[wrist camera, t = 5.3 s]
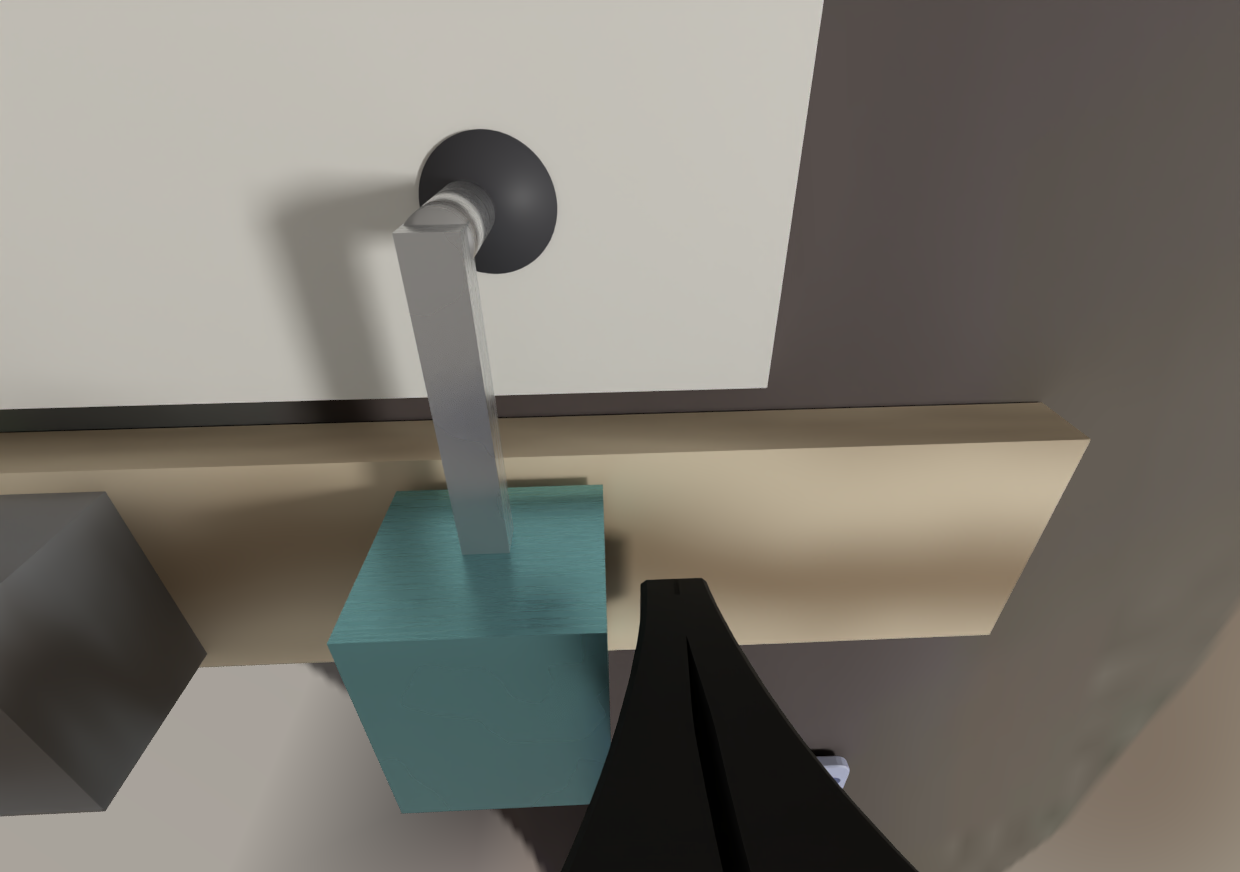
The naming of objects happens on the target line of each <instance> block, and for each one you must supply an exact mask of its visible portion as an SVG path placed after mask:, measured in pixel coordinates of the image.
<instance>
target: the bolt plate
mask: <svg viewBox="0 0 1240 872" xmlns="http://www.w3.org/2000/svg"><path fill="white" fill-rule="evenodd" d="M823 1H824V0H0V409H29V408H65V407H100V406H136V405H172V404H207V403H243V402H279V401H314V400H350V399H385V398H421V397H428V396H427V391H426V386H425V382H424V377H423V373H422V368H421V363H420V359H419V354H418V350H417V345H416V340H415V336H414V331H413V327H412V322H411V317H410V313H409V308H408V304H407V299H406V294H405V290H404V285H403V281H402V276H401V271H400V267H399V262H398V258H397V253H396V248H395V244H394V239H393V235H392V233H393V232H394V231H395V230H396V229H398V228H399V227H400V226H401V225H402V224H403V223H405V222H406V220H407V219H408V218H409V216H411V215H412V214H413V213H414V212H415V211H416V210H418V209H419V208H420V207H421V206H422V205H424V204H425V203H426V202H427V201H428V200H430V199H431V198H432V197H433V196H434V195H435V194H437V193H438V192H439V191H440V190H441V189H443V188H444V187H445V186H446V185H447V184H449V183H451V182H453V181H457V180H467V181H471V182H474V183H476V184H478V185H479V186H481V187H482V188H483V189H484V190H485V191H486V192H487V193H488V194H489V196H490V197H491V199H492V201H493V204H494V207H495V221H494V224H493V227H492V229H491V230H490V232H489V234H488V235H487V237H486V239H485V240H484V242H483V244H482V245H481V247H480V249H479V250H478V252H477V254H476V255H475V257H474V258H475V265H476V272H477V279H478V286H479V292H480V299H481V306H482V313H483V320H484V327H485V334H486V341H487V348H488V354H489V361H490V368H491V375H492V382H493V389H494V395H528V394H564V393H599V392H635V391H671V390H706V389H742V388H767V384H768V377H769V370H770V364H771V357H772V350H773V343H774V336H775V329H776V323H777V316H778V309H779V302H780V295H781V288H782V282H783V275H784V268H785V261H786V254H787V247H788V241H789V234H790V227H791V220H792V213H793V206H794V200H795V193H796V186H797V179H798V172H799V165H800V159H801V152H802V145H803V138H804V131H805V124H806V118H807V111H808V104H809V97H810V90H811V83H812V77H813V70H814V63H815V56H816V49H817V42H818V36H819V29H820V22H821V15H822V8H823Z"/></svg>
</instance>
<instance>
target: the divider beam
mask: <svg viewBox="0 0 1240 872" xmlns="http://www.w3.org/2000/svg"><path fill="white" fill-rule="evenodd" d="M498 423H499V430H500V437H501V444H502V451H503V458H504V465H505V471H506V478H507V485H508V488H510V487H540V486H571V485H601V484H603V503H604V535H605V566H606V598H607V629H608V650H630V649H636V645H637V639H638V632H639V625H640V584H641V583H643V582H644V581H645V580H655V579H682V578H703V579H704V580H705V581H706V582H707V584H708V586H709V589H710V591H711V593H712V595H713V597H714V600H715V602H716V604H717V606H718V608H719V610H720V612H721V614H722V615H723V617H724V619H725V621H726V623H727V625H728V627H729V628H730V630H731V632H732V634H733V636H734V637H735V639H736V641H737V642H738V644H739V645H750V644H774V643H799V642H823V641H847V640H871V639H895V638H919V637H943V636H967V635H989V634H990V632H991V630H992V629H993V627H994V625H995V623H996V621H997V619H998V617H999V615H1000V613H1001V611H1002V609H1003V607H1004V605H1005V604H1006V602H1007V600H1008V598H1009V596H1010V594H1011V592H1012V590H1013V588H1014V586H1015V584H1016V582H1017V580H1018V579H1019V577H1020V575H1021V573H1022V571H1023V569H1024V567H1025V565H1026V563H1027V561H1028V559H1029V557H1030V555H1031V554H1032V552H1033V550H1034V548H1035V546H1036V544H1037V542H1038V540H1039V538H1040V536H1041V534H1042V532H1043V530H1044V529H1045V527H1046V525H1047V523H1048V521H1049V519H1050V517H1051V515H1052V513H1053V511H1054V509H1055V507H1056V505H1057V504H1058V502H1059V500H1060V498H1061V496H1062V494H1063V492H1064V490H1065V488H1066V486H1067V484H1068V482H1069V480H1070V479H1071V477H1072V475H1073V473H1074V471H1075V469H1076V467H1077V465H1078V463H1079V461H1080V459H1081V457H1082V455H1083V454H1084V452H1085V450H1086V448H1087V446H1088V444H1089V442H1090V440H1091V439H1090V438H1088V437H1087V436H1086V435H1084V434H1083V433H1082V432H1080V431H1079V430H1078V429H1076V428H1075V427H1074V426H1072V425H1071V424H1070V423H1068V422H1067V421H1066V420H1064V419H1063V418H1062V417H1060V416H1059V415H1058V414H1056V413H1055V412H1054V411H1052V410H1051V409H1050V408H1048V407H1047V406H1046V405H1044V404H1043V403H1042V402H1041V403H1006V404H972V405H938V406H904V407H870V408H835V409H801V410H767V411H733V412H699V413H665V414H630V415H596V416H562V417H528V418H498ZM419 490H448V488H447V483H446V479H445V474H444V469H443V465H442V460H441V456H440V451H439V446H438V442H437V437H436V433H435V428H434V423H433V420H425V421H391V422H357V423H323V424H288V425H254V426H220V427H186V428H152V429H117V430H83V431H49V432H15V433H0V816H16V815H37V814H58V813H80V812H100V811H106V809H107V807H108V806H109V804H110V803H111V801H112V800H113V798H114V797H115V795H116V794H117V792H118V791H119V789H120V788H121V786H122V785H123V783H124V781H125V780H126V778H127V777H128V775H129V774H130V772H131V771H132V769H133V768H134V766H135V764H136V763H137V761H138V760H139V758H140V757H141V755H142V754H143V752H144V751H145V749H146V748H147V746H148V744H149V743H150V741H151V740H152V738H153V737H154V735H155V734H156V732H157V731H158V729H159V728H160V726H161V725H162V723H163V721H164V720H165V718H166V717H167V715H168V714H169V712H170V711H171V709H172V708H173V706H174V705H175V703H176V701H177V700H178V698H179V697H180V695H181V694H182V692H183V691H184V689H185V688H186V686H187V685H188V683H189V681H190V680H191V678H192V677H193V675H194V674H195V672H196V671H197V669H198V668H199V667H219V666H245V665H269V664H292V663H317V662H334V659H333V657H332V655H331V653H330V650H329V648H328V646H327V642H328V640H329V638H330V636H331V633H332V631H333V629H334V627H335V625H336V623H337V620H338V618H339V616H340V614H341V612H342V609H343V607H344V605H345V603H346V601H347V598H348V596H349V594H350V592H351V590H352V587H353V585H354V583H355V581H356V579H357V576H358V574H359V572H360V570H361V568H362V565H363V563H364V561H365V559H366V557H367V554H368V552H369V550H370V548H371V546H372V544H373V541H374V539H375V537H376V535H377V533H378V530H379V528H380V526H381V524H382V522H383V519H384V517H385V515H386V513H387V511H388V508H389V506H390V504H391V502H392V500H393V497H394V495H395V493H396V491H419Z"/></svg>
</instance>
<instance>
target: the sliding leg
mask: <svg viewBox="0 0 1240 872" xmlns="http://www.w3.org/2000/svg"><path fill="white" fill-rule="evenodd" d="M494 221H495V207H494V204H493V201H492V199H491V197H490V196H489V194H488V193H487V192H486V191H485V190H484V189H483V188H482V187H481V186H479V185H478V184H476V183H474V182H471V181H467V180H457V181H453V182H451V183H449V184H447V185H446V186H445V187H444V188H443V189H441V190H440V191H439V192H438V193H437V194H435V195H434V196H433V197H432V198H431V199H430V200H428V201H427V202H426V203H425V204H424V205H422V206H421V207H420V208H419V209H418V210H416V211H415V212H414V213H413V214H412V215H411V216H409V218H408V219H407V220H406V222H405V223H403V224H402V225H401V226H400V227H399V228H398V229H396V230H395V231H394V232H393V233H392V235H393V239H394V244H395V248H396V253H397V258H398V262H399V267H400V271H401V276H402V281H403V285H404V290H405V294H406V299H407V304H408V308H409V313H410V317H411V322H412V327H413V331H414V336H415V340H416V345H417V350H418V354H419V359H420V363H421V368H422V373H423V377H424V382H425V386H426V391H427V396H428V400H429V405H430V409H431V414H432V419H433V423H434V428H435V433H436V437H437V442H438V446H439V451H440V456H441V460H442V465H443V469H444V474H445V479H446V483H447V488H448V490H419V491H396V493H395V495H394V497H393V500H392V502H391V504H390V506H389V508H388V511H387V513H386V515H385V517H384V519H383V522H382V524H381V526H380V528H379V530H378V533H377V535H376V537H375V539H374V541H373V544H372V546H371V548H370V550H369V552H368V554H367V557H366V559H365V561H364V563H363V565H362V568H361V570H360V572H359V574H358V576H357V579H356V581H355V583H354V585H353V587H352V590H351V592H350V594H349V596H348V598H347V601H346V603H345V605H344V607H343V609H342V612H341V614H340V616H339V618H338V620H337V623H336V625H335V627H334V629H333V631H332V633H331V636H330V638H329V640H328V642H327V646H328V648H329V650H330V653H331V655H332V657H333V659H334V662H335V664H336V666H337V668H338V671H339V673H340V675H341V677H342V680H343V682H344V684H345V686H346V689H347V691H348V693H349V695H350V698H351V700H352V702H353V704H354V707H355V709H356V711H357V713H358V716H359V718H360V720H361V722H362V725H363V727H364V729H365V731H366V733H367V736H368V738H369V740H370V743H371V745H372V747H373V749H374V752H375V754H376V756H377V758H378V761H379V763H380V765H381V767H382V770H383V772H384V774H385V776H386V778H387V781H388V783H389V785H390V787H391V790H392V792H393V794H394V797H395V799H396V801H397V803H398V806H399V808H400V810H401V812H402V813H420V812H421V813H422V812H442V811H461V810H482V809H503V808H523V807H543V806H563V805H583V804H590V801H591V798H592V796H593V793H594V791H595V788H596V785H597V783H598V780H599V777H600V774H601V772H602V769H603V766H604V763H605V760H606V757H607V754H608V751H609V748H610V745H611V732H610V697H609V662H608V629H607V598H606V566H605V535H604V503H603V484H601V485H571V486H540V487H510V488H508V485H507V478H506V471H505V465H504V458H503V451H502V444H501V437H500V430H499V423H498V416H497V409H496V403H495V396H494V389H493V382H492V375H491V368H490V361H489V354H488V348H487V341H486V334H485V327H484V320H483V313H482V306H481V299H480V292H479V286H478V279H477V272H476V265H475V258H474V257H475V255H476V254H477V252H478V250H479V249H480V247H481V245H482V244H483V242H484V240H485V239H486V237H487V235H488V234H489V232H490V230H491V229H492V227H493V224H494Z"/></svg>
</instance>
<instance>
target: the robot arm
mask: <svg viewBox="0 0 1240 872" xmlns="http://www.w3.org/2000/svg"><path fill="white" fill-rule="evenodd" d="M848 774H849V767H848V764H847V761H846V760H845V759H844V758H843V757H840V756H817V757H816V756H815V755H814V753H813V752H812V751H811V750H810V748H809V747H808V746H807V745H806V743H805V742H804V741H803V739H802V738H801V737H800V735H799V734H798V733H797V731H796V730H795V729H794V727H793V726H792V725H791V723H790V722H789V720H788V719H787V718H786V716H785V715H784V713H783V712H782V711H781V709H780V708H779V706H778V705H777V703H776V702H775V701H774V699H773V698H772V696H771V695H770V693H769V692H768V690H767V689H766V687H765V686H764V684H763V683H762V681H761V680H760V678H759V677H758V675H757V673H756V672H755V670H754V669H753V667H752V665H751V664H750V662H749V661H748V659H747V657H746V656H745V654H744V653H743V651H742V649H741V648H740V646H739V644H738V642H737V641H736V639H735V637H734V636H733V634H732V632H731V630H730V628H729V627H728V625H727V623H726V621H725V619H724V617H723V615H722V614H721V612H720V610H719V608H718V606H717V604H716V602H715V600H714V597H713V595H712V593H711V591H710V589H709V586H708V584H707V582H706V581H705V580H704V579H703V578H682V579H655V580H645V581H644V582H643V583H641V584H640V625H639V632H638V639H637V645H636V650H635V654H634V659H633V664H632V669H631V674H630V678H629V683H628V686H627V690H626V694H625V697H624V701H623V705H622V708H621V712H620V716H619V719H618V723H617V726H616V729H615V733H614V736H613V739H612V742H611V745H610V748H609V751H608V754H607V757H606V760H605V763H604V766H603V769H602V772H601V774H600V777H599V780H598V783H597V785H596V788H595V791H594V793H593V796H592V798H591V801H590V804H589V806H588V809H587V812H586V814H585V817H584V819H583V822H582V824H581V827H580V829H579V832H578V834H577V836H576V839H575V841H574V843H573V846H572V848H571V850H570V852H569V855H568V857H567V859H566V861H565V864H564V866H563V868H562V871H561V872H918V871H917V870H916V869H915V868H914V867H913V866H912V865H911V864H910V862H909V861H908V860H907V859H906V858H905V857H904V856H903V855H902V854H901V853H900V852H899V851H898V850H897V849H896V848H895V847H894V846H893V844H892V843H891V842H890V841H889V840H888V839H887V838H886V837H885V836H884V835H883V834H882V832H881V831H880V830H879V829H878V828H877V827H876V826H875V825H874V824H873V823H872V822H871V820H870V819H869V818H868V817H867V816H866V815H865V814H864V813H863V812H862V811H861V810H860V808H859V807H858V806H857V805H856V804H855V803H854V802H853V801H852V800H851V798H850V797H849V796H848V795H847V794H846V793H845V791H844V790H843V787H844V784H845V782H846V779H847V777H848Z"/></svg>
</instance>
